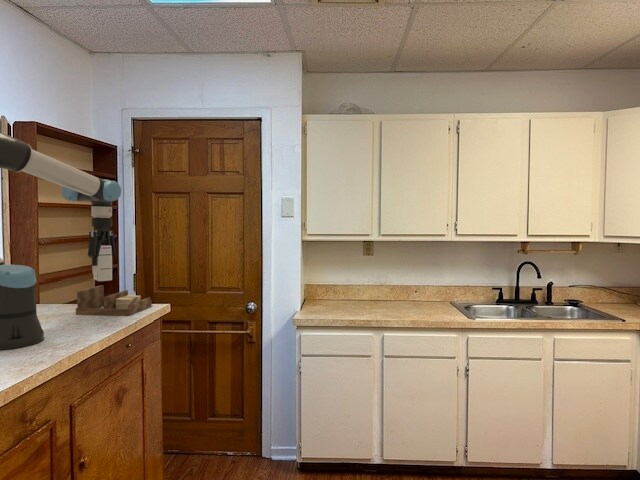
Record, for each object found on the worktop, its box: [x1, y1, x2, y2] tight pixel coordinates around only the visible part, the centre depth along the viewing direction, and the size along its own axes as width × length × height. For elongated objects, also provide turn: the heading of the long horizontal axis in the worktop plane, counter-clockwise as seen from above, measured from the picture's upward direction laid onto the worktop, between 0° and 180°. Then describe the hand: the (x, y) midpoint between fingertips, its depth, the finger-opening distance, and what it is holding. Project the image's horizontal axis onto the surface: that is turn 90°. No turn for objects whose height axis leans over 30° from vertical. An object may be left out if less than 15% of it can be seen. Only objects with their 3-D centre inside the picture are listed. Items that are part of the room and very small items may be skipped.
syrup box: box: [92, 244, 113, 282], centre depth 172 cm, size 6×6×14 cm
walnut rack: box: [75, 284, 153, 317], centre depth 173 cm, size 18×22×9 cm
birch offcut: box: [116, 294, 142, 307], centre depth 172 cm, size 8×6×3 cm
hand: (102, 272), depth 172 cm, fingers closed on syrup box, 8 cm apart
